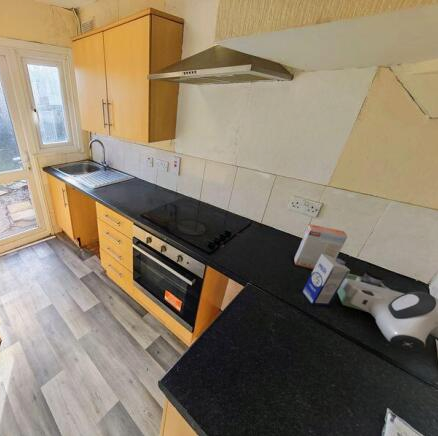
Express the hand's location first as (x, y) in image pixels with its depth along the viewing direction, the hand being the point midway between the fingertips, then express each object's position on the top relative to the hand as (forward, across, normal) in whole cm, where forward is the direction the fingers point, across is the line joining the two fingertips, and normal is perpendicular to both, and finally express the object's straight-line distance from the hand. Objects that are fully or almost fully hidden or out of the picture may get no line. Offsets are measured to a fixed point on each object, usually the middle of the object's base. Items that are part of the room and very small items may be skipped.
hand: (368, 281), depth 92 cm
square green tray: (-1, 0, +8) cm, 8 cm away
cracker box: (+13, +16, +8) cm, 22 cm away
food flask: (-1, 0, +7) cm, 7 cm away
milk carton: (-11, +18, +8) cm, 23 cm away
